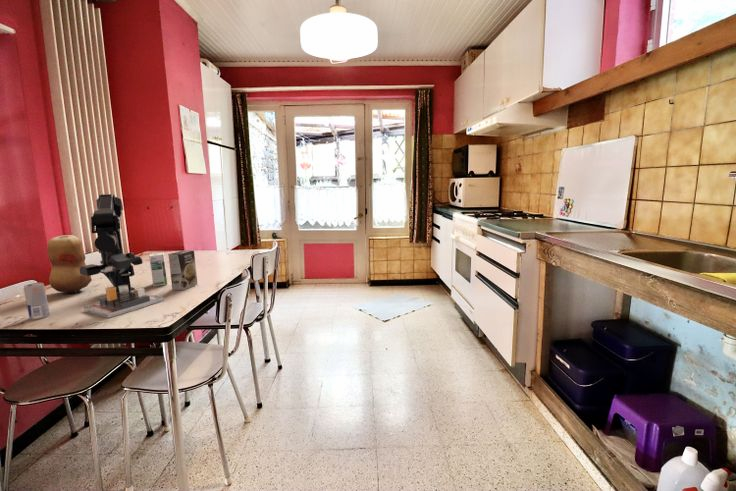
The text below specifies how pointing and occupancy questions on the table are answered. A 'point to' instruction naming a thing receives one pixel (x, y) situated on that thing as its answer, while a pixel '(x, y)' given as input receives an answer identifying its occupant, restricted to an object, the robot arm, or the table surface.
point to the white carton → (36, 301)
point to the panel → (111, 314)
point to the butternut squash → (67, 264)
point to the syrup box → (158, 269)
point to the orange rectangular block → (111, 293)
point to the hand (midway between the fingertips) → (116, 287)
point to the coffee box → (183, 270)
